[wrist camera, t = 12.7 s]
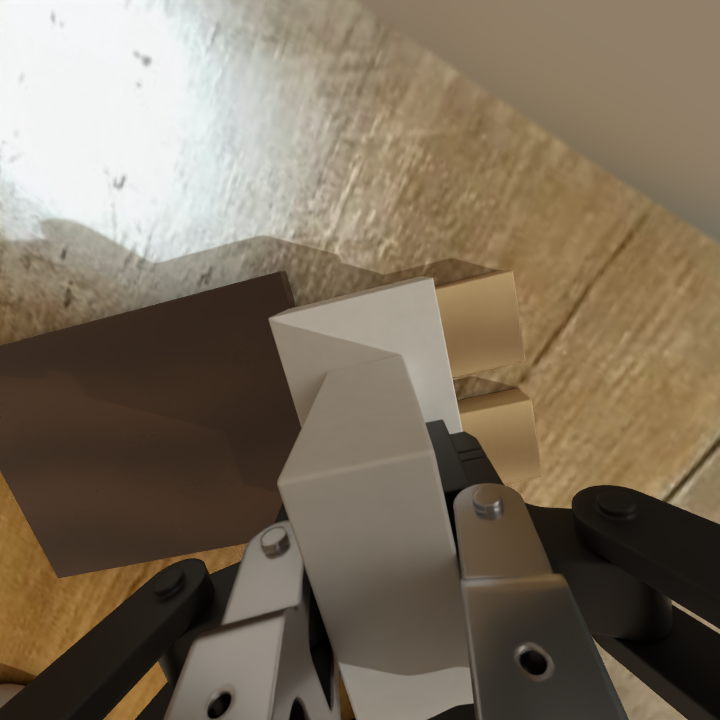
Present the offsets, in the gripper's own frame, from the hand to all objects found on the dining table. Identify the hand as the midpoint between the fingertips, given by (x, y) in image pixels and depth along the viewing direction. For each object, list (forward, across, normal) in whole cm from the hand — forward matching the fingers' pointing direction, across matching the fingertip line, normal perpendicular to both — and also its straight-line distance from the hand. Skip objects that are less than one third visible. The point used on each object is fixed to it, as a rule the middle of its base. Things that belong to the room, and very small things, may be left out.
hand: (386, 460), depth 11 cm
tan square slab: (+6, -4, +3) cm, 7 cm away
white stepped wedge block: (+5, 0, 0) cm, 5 cm away
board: (+6, +11, 0) cm, 12 cm away
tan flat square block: (+6, -4, -2) cm, 7 cm away
